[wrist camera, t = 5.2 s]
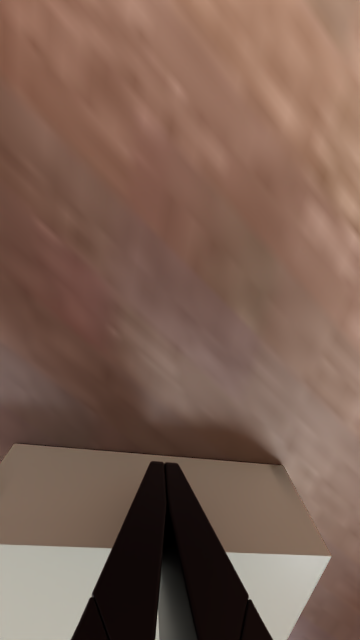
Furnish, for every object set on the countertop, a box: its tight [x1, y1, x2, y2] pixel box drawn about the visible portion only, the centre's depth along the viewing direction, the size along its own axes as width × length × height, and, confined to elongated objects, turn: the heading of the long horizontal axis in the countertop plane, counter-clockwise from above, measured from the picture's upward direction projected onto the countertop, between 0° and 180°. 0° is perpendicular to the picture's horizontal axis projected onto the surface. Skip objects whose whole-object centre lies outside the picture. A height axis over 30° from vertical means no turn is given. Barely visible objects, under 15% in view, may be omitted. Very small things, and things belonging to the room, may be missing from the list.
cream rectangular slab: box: [0, 443, 332, 640], centre depth 10 cm, size 16×10×3 cm, turn 170°
